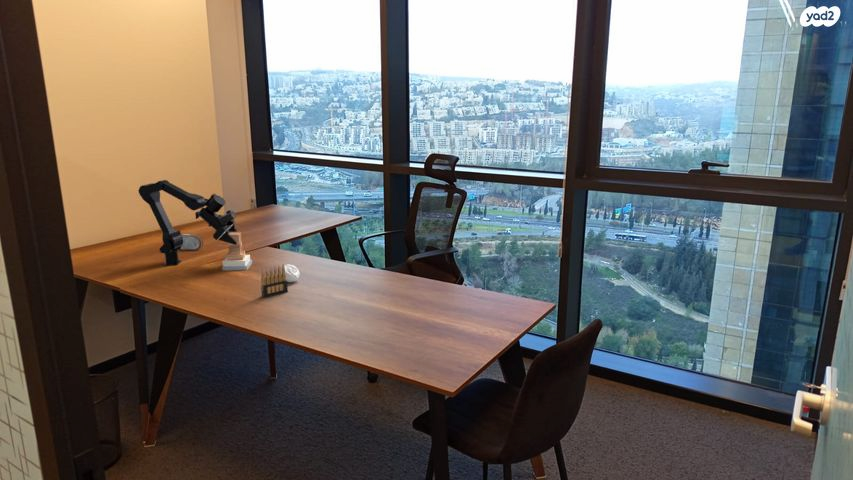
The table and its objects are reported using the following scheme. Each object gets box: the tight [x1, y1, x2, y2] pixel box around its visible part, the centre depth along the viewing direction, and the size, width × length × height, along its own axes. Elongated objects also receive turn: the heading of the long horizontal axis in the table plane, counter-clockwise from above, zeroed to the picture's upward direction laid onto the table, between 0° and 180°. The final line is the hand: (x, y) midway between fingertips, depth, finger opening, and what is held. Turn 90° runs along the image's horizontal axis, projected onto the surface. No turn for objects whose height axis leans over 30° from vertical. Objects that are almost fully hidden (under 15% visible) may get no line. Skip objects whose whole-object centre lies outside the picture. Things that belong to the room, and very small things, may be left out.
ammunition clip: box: [260, 264, 289, 299], centre depth 235 cm, size 11×2×12 cm, turn 130°
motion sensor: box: [281, 264, 301, 283], centre depth 250 cm, size 8×8×8 cm
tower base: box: [221, 258, 253, 271], centre depth 272 cm, size 11×11×2 cm
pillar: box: [226, 231, 246, 261], centre depth 269 cm, size 7×7×12 cm
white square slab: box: [222, 254, 251, 267], centre depth 271 cm, size 10×10×2 cm
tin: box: [179, 232, 204, 251], centre depth 298 cm, size 15×3×8 cm, turn 84°
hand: (238, 241), depth 269 cm, fingers open, 9 cm apart
